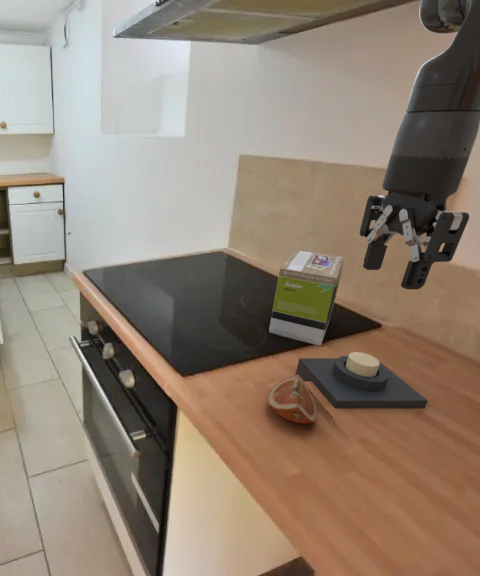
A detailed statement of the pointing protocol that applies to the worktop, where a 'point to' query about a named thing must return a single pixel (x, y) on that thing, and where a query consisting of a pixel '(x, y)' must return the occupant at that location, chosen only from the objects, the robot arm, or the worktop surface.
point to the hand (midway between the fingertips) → (389, 277)
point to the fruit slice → (293, 400)
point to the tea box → (306, 296)
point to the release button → (362, 364)
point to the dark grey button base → (357, 385)
